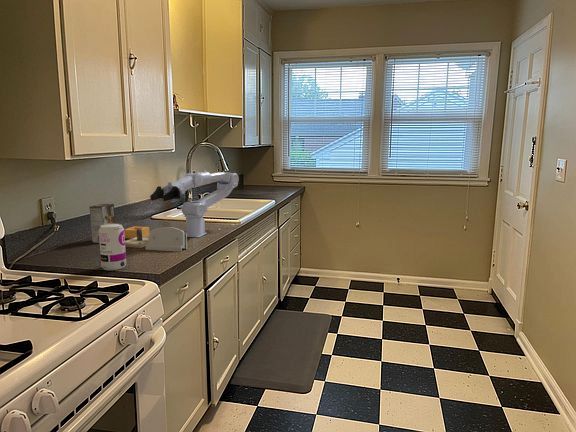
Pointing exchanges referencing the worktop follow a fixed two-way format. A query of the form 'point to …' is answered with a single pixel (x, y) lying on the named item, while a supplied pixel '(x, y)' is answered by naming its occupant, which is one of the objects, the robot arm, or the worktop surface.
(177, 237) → the grey napkin holder
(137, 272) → the worktop surface
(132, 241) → the keeper board
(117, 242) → the supplement can
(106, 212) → the coffee box
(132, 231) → the orange square frame
